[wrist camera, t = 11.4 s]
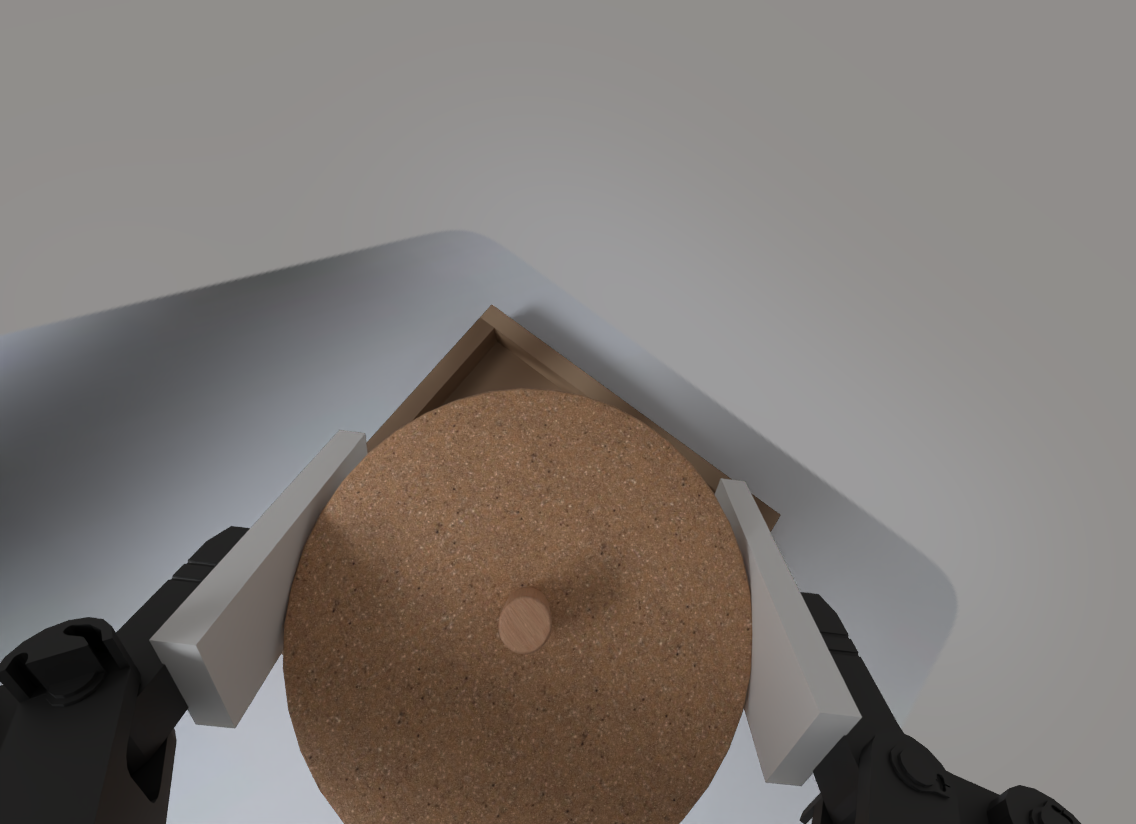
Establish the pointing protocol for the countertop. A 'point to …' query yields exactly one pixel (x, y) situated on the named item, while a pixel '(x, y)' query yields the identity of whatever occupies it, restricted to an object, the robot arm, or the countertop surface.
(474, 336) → the walnut square tray
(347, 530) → the lidded jar
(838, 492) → the countertop surface
